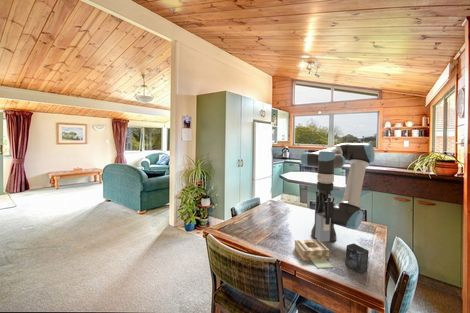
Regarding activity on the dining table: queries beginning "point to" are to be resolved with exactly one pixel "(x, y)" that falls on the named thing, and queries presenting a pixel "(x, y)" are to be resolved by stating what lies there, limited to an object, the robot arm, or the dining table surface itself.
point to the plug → (321, 228)
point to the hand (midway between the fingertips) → (323, 227)
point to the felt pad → (321, 263)
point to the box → (357, 258)
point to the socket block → (311, 249)
